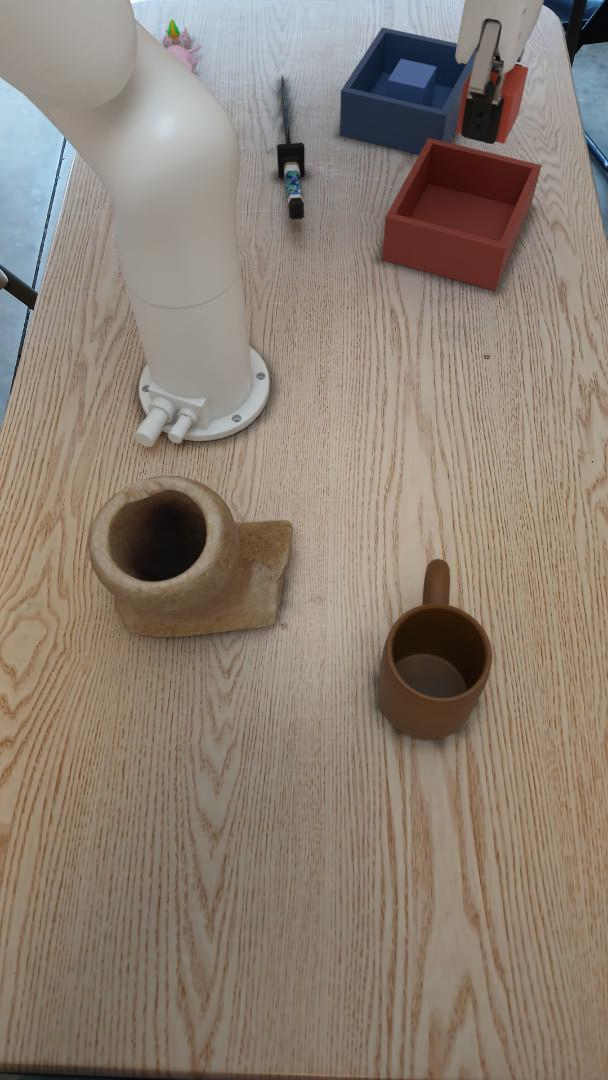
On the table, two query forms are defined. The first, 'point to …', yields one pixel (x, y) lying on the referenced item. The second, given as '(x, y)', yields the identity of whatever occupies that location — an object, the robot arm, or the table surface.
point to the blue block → (412, 82)
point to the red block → (510, 95)
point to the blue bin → (395, 119)
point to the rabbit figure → (180, 45)
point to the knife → (291, 168)
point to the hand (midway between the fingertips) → (487, 119)
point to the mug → (433, 663)
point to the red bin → (460, 213)
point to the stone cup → (187, 560)
